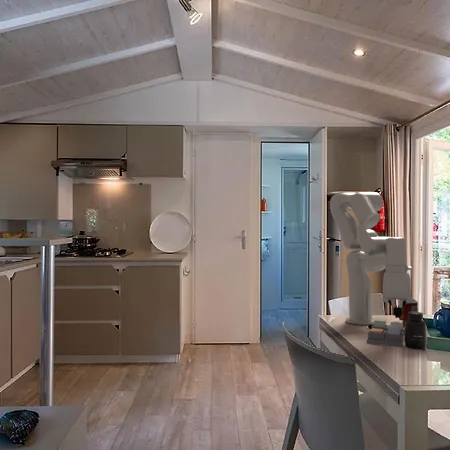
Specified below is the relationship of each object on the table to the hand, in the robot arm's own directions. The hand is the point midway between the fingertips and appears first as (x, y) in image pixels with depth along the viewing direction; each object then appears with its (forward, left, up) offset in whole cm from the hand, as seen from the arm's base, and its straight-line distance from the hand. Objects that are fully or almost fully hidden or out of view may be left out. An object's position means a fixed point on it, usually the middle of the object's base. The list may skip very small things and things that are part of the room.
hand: (397, 317), depth 167 cm
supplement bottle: (+13, +7, -8) cm, 16 cm away
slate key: (+9, 0, -4) cm, 10 cm away
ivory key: (-1, 0, -4) cm, 4 cm away
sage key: (-1, -6, -4) cm, 8 cm away
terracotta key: (+9, -6, -6) cm, 13 cm away
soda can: (-14, +3, -8) cm, 16 cm away
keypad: (+4, -3, -7) cm, 9 cm away
